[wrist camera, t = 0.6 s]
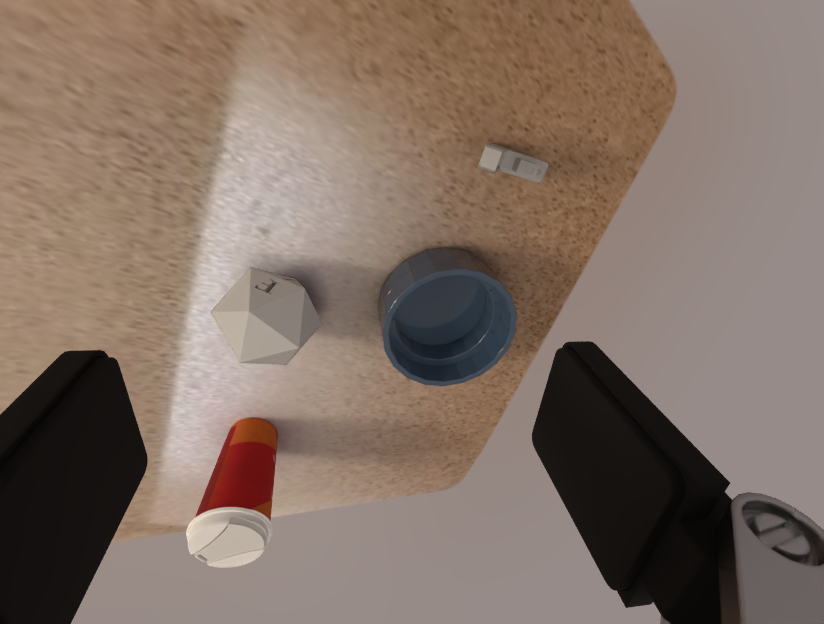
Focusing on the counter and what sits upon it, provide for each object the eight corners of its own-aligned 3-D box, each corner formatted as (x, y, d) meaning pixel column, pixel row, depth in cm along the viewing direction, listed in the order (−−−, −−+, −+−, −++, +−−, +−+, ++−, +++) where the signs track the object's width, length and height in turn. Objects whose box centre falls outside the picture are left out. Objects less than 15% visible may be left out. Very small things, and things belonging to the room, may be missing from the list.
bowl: (391, 235, 41) (399, 258, 36) (512, 257, 44) (536, 281, 39) (367, 346, 47) (371, 380, 42) (476, 358, 50) (491, 390, 45)
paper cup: (247, 465, 53) (221, 580, 41) (205, 429, 49) (162, 544, 37) (300, 439, 52) (288, 548, 40) (261, 400, 48) (235, 508, 36)
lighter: (529, 155, 39) (570, 172, 32) (522, 173, 40) (560, 194, 33) (460, 132, 37) (488, 145, 30) (454, 152, 38) (479, 168, 31)
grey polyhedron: (339, 298, 44) (318, 280, 34) (305, 378, 43) (274, 382, 33) (265, 269, 44) (224, 242, 34) (230, 347, 43) (177, 342, 33)
